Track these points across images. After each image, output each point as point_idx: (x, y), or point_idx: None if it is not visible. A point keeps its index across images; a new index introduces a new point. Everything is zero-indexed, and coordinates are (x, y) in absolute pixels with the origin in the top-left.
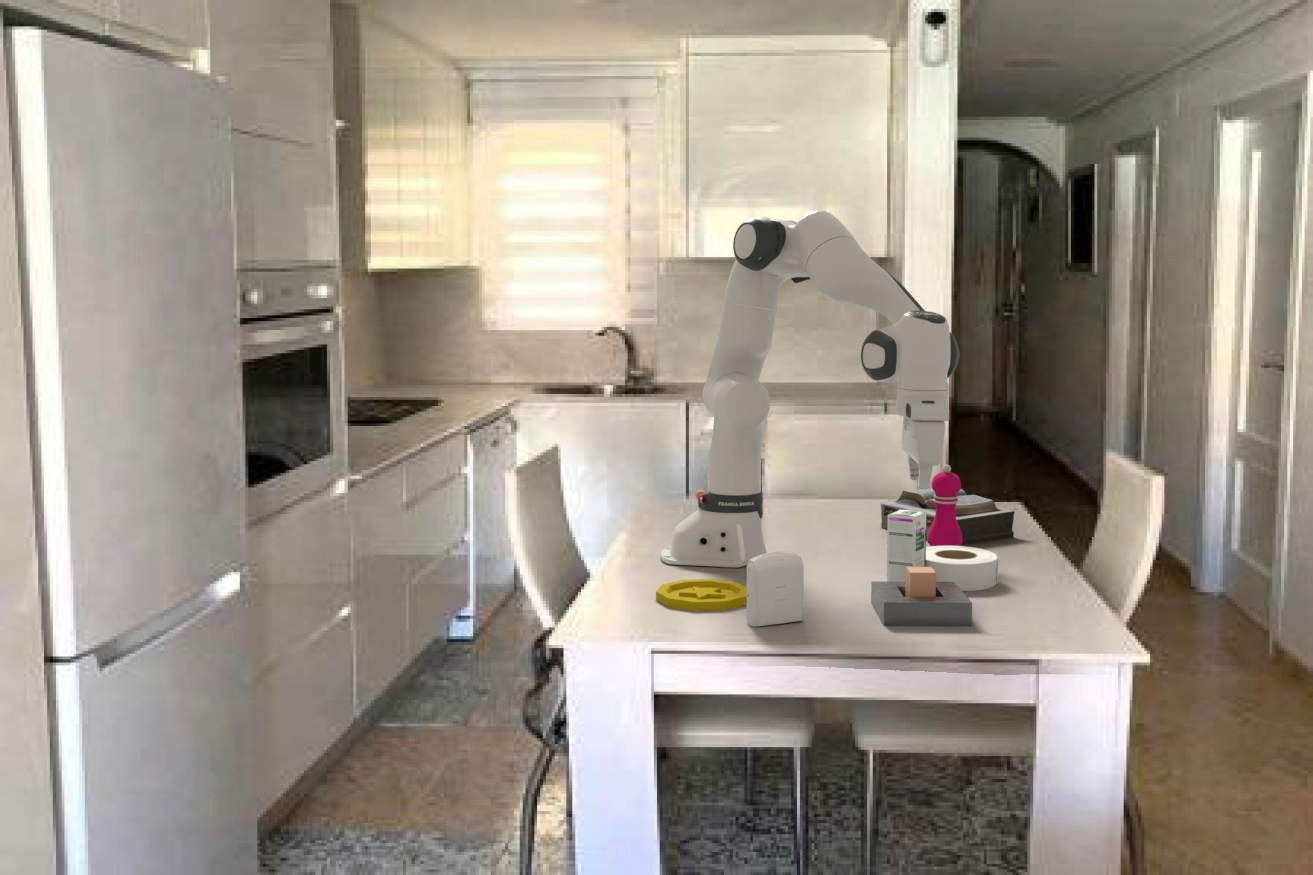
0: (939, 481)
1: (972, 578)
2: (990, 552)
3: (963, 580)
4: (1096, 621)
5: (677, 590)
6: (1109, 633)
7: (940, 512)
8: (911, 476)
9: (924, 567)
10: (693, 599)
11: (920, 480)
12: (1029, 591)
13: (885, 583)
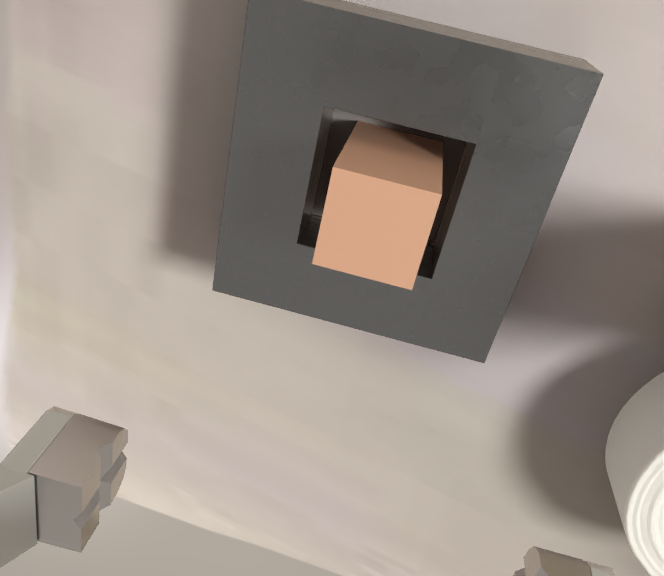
0: None
1: (616, 463)
2: None
3: (624, 437)
4: (239, 519)
5: None
6: (147, 491)
7: None
8: (535, 572)
9: (410, 261)
10: None
11: (12, 459)
12: (534, 543)
13: (546, 121)
